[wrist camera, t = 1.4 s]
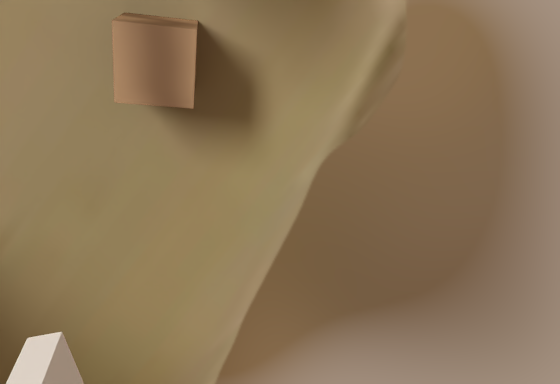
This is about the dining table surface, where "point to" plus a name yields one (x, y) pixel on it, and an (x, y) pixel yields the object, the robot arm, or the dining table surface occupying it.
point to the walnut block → (154, 60)
